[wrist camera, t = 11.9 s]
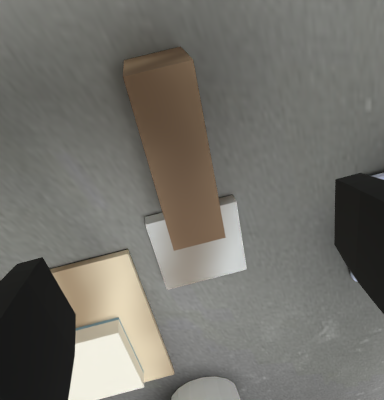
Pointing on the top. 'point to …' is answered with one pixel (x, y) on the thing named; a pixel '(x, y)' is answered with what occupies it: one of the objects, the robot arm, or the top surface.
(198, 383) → the white short cylinder
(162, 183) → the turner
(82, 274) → the tan flat rectangular piece
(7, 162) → the top surface
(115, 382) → the tile
